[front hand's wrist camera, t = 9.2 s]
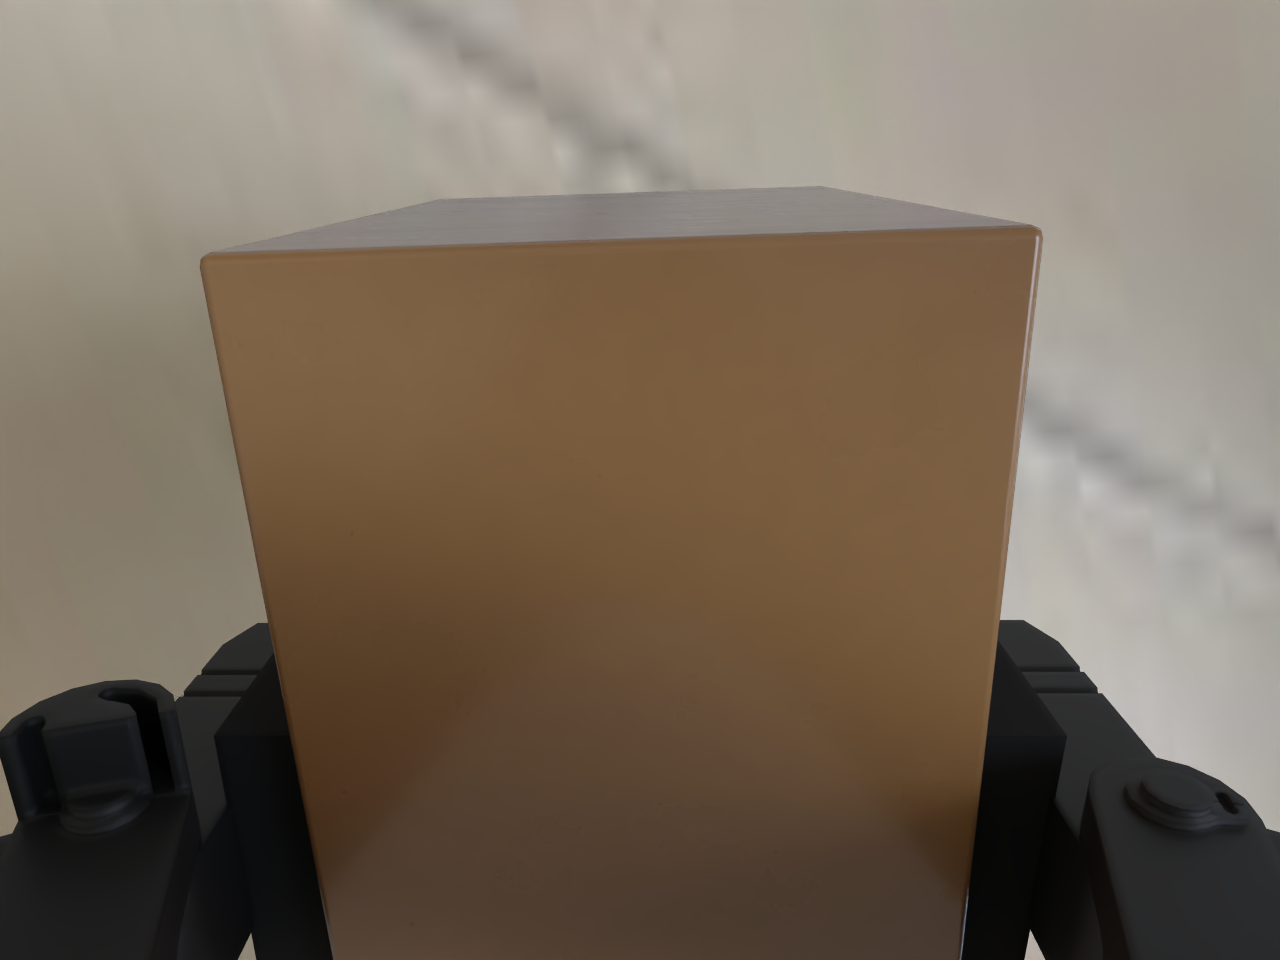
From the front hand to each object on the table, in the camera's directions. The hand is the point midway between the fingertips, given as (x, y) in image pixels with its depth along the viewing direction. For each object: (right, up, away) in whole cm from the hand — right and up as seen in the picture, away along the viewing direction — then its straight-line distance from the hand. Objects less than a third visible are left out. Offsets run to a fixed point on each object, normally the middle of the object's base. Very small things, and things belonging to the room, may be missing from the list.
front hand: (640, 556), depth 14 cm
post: (+1, -28, +11) cm, 30 cm away
